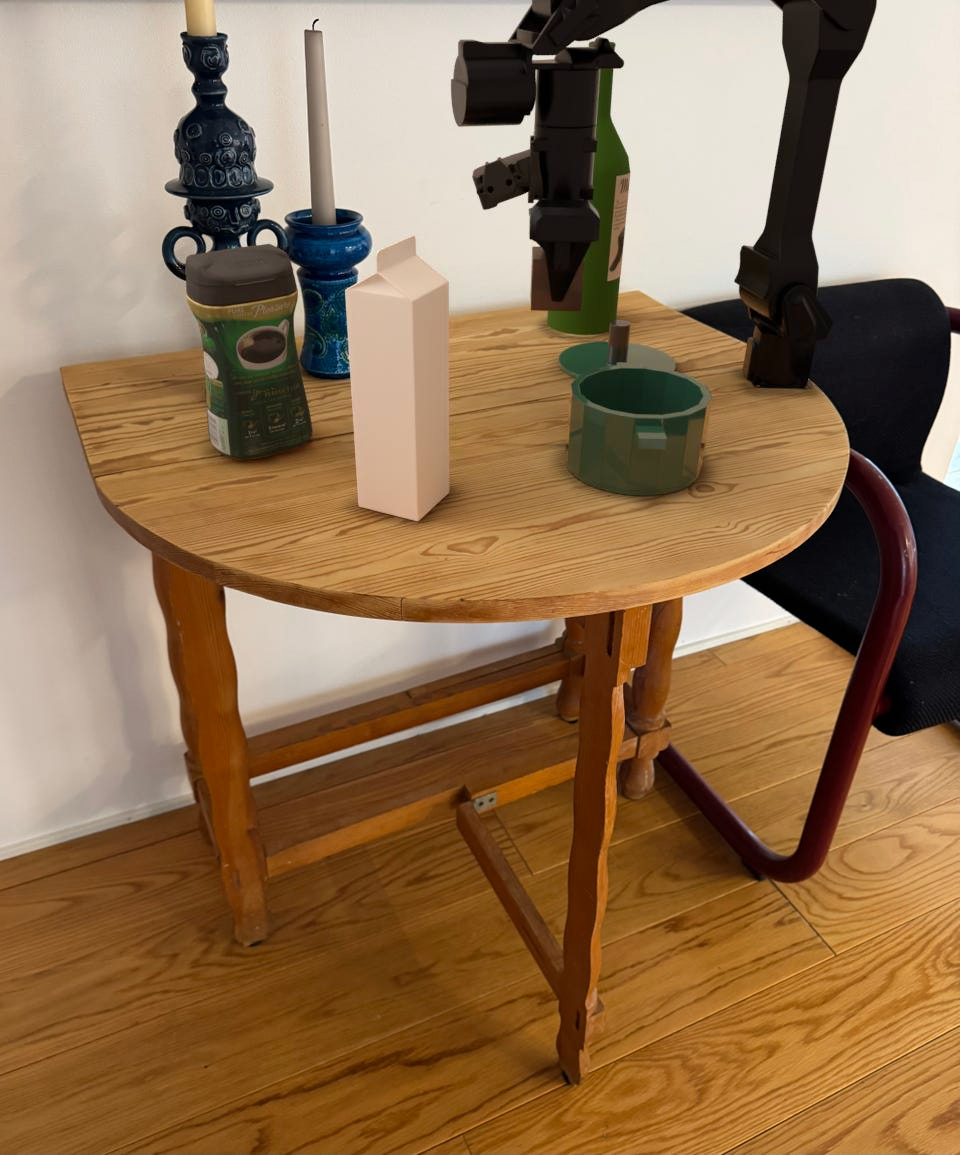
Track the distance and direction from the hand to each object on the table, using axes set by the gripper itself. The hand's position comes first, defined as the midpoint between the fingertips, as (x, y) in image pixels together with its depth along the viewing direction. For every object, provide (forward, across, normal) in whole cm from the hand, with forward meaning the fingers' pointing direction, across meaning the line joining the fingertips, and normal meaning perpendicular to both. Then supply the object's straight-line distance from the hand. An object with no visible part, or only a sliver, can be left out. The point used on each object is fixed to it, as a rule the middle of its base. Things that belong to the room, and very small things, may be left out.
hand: (556, 293), depth 96 cm
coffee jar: (+12, +12, -29) cm, 33 cm away
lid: (+11, -11, +8) cm, 17 cm away
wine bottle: (+12, -26, +5) cm, 29 cm away
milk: (+12, +23, -14) cm, 29 cm away
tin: (+12, +14, +7) cm, 20 cm away
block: (+1, 0, 0) cm, 1 cm away
